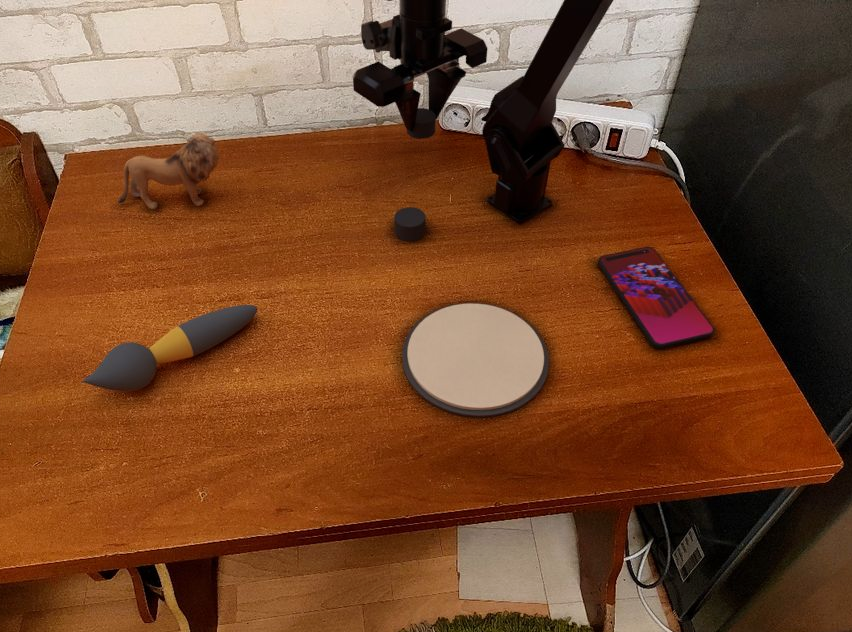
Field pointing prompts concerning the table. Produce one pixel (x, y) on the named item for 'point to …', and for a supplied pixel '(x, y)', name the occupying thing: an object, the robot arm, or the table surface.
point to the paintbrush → (168, 348)
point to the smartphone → (655, 298)
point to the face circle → (475, 360)
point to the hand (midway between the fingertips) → (421, 124)
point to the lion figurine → (173, 169)
